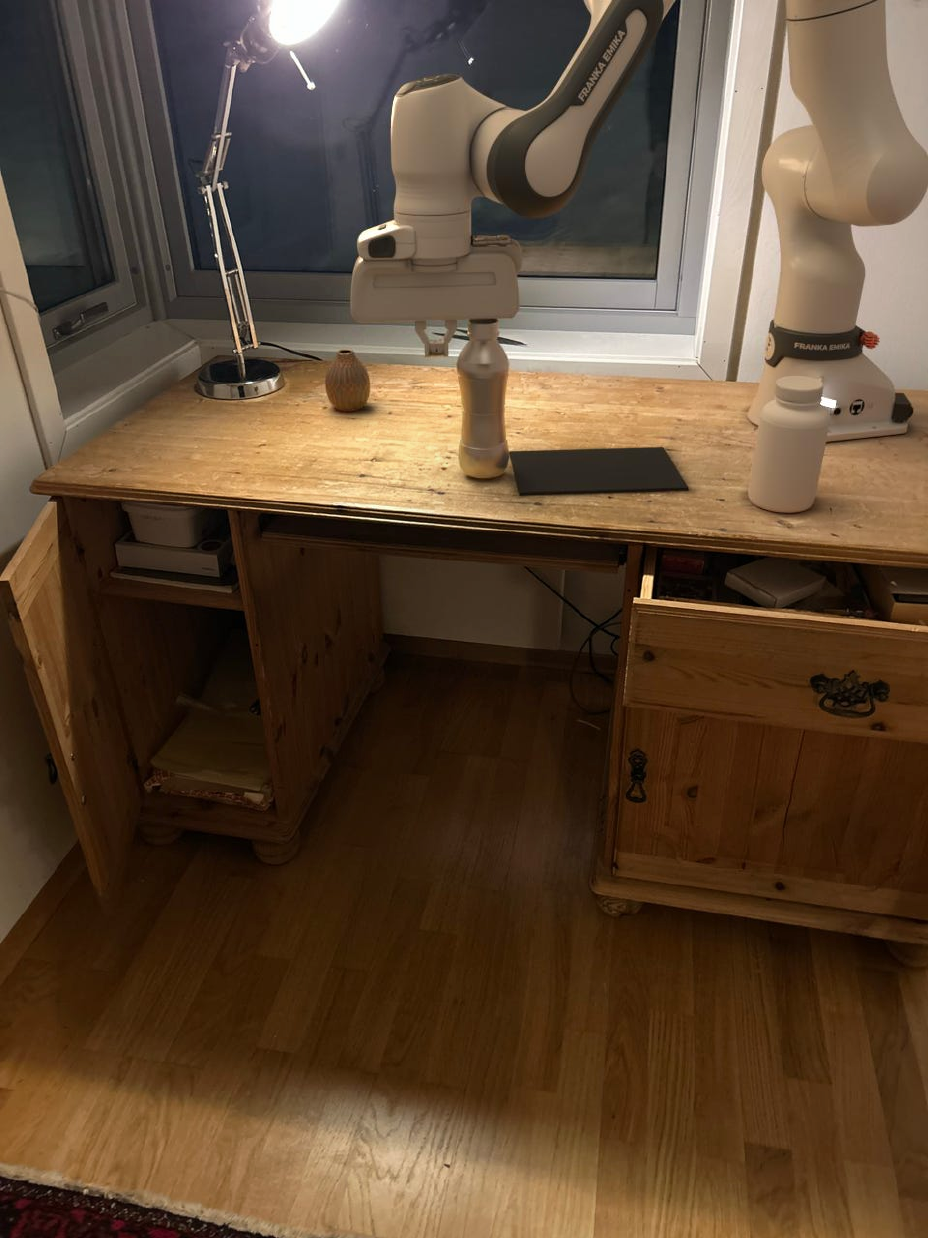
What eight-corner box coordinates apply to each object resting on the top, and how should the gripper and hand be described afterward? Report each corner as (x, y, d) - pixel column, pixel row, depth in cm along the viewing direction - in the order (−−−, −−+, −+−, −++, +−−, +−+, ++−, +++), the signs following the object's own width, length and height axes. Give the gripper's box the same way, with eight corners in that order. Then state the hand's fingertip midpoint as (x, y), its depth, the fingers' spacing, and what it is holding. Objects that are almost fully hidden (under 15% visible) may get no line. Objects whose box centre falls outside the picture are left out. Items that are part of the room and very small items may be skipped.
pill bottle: (734, 501, 118) (752, 382, 110) (768, 482, 123) (787, 367, 115) (792, 520, 114) (815, 397, 106) (825, 500, 118) (850, 381, 110)
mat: (662, 449, 133) (663, 446, 133) (688, 490, 121) (688, 487, 121) (509, 453, 132) (509, 451, 132) (519, 495, 120) (519, 492, 120)
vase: (320, 413, 147) (315, 356, 143) (336, 398, 153) (331, 343, 148) (363, 416, 146) (359, 359, 141) (377, 401, 151) (374, 346, 147)
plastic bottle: (504, 485, 123) (507, 328, 112) (453, 482, 124) (450, 326, 114) (512, 466, 128) (515, 314, 118) (463, 463, 129) (461, 312, 119)
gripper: (519, 229, 114) (518, 346, 121) (347, 233, 113) (355, 350, 120) (525, 239, 108) (523, 360, 115) (344, 243, 107) (353, 365, 115)
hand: (436, 355), depth 118 cm, fingers closed
